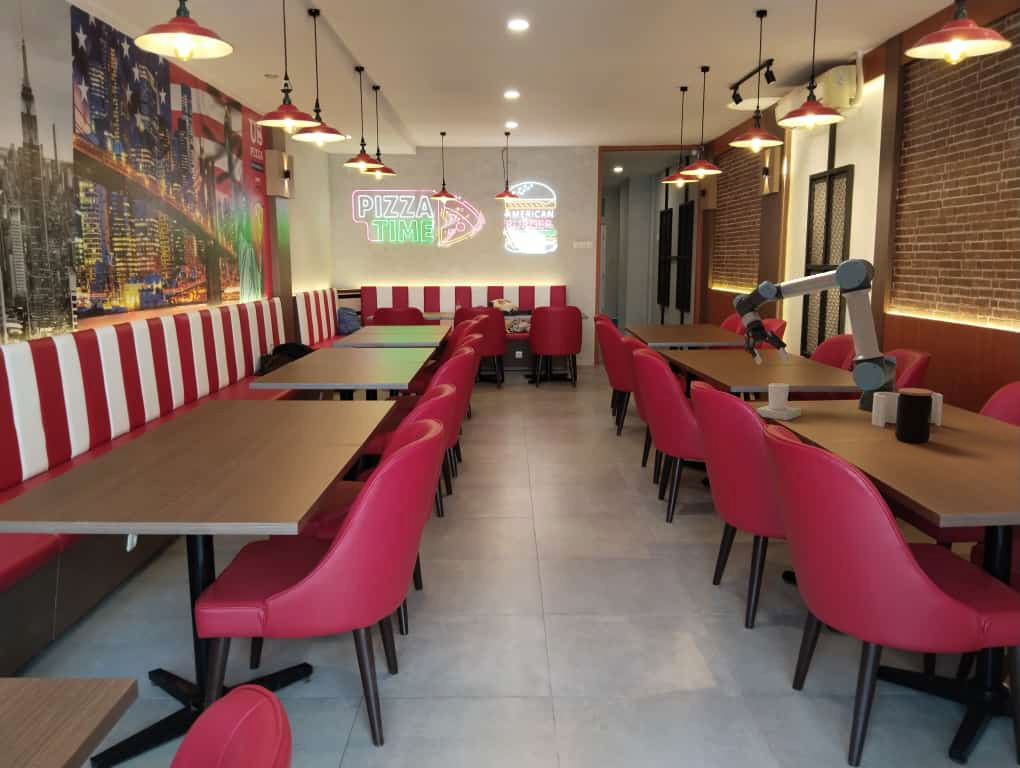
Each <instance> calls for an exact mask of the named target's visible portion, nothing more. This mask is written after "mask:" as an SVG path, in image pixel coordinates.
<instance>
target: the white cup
mask: <svg viewBox="0 0 1020 768" xmlns="http://www.w3.org/2000/svg"><path fill="white" fill-rule="evenodd" d="M789 387H790V385H789V384H787V383H782V382H781V383H777V382H774V383H768V405H769V408H770V409H773V410H785V409H786V407H788V405H787V403H788V397H789V389H790V388H789Z"/></svg>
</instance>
